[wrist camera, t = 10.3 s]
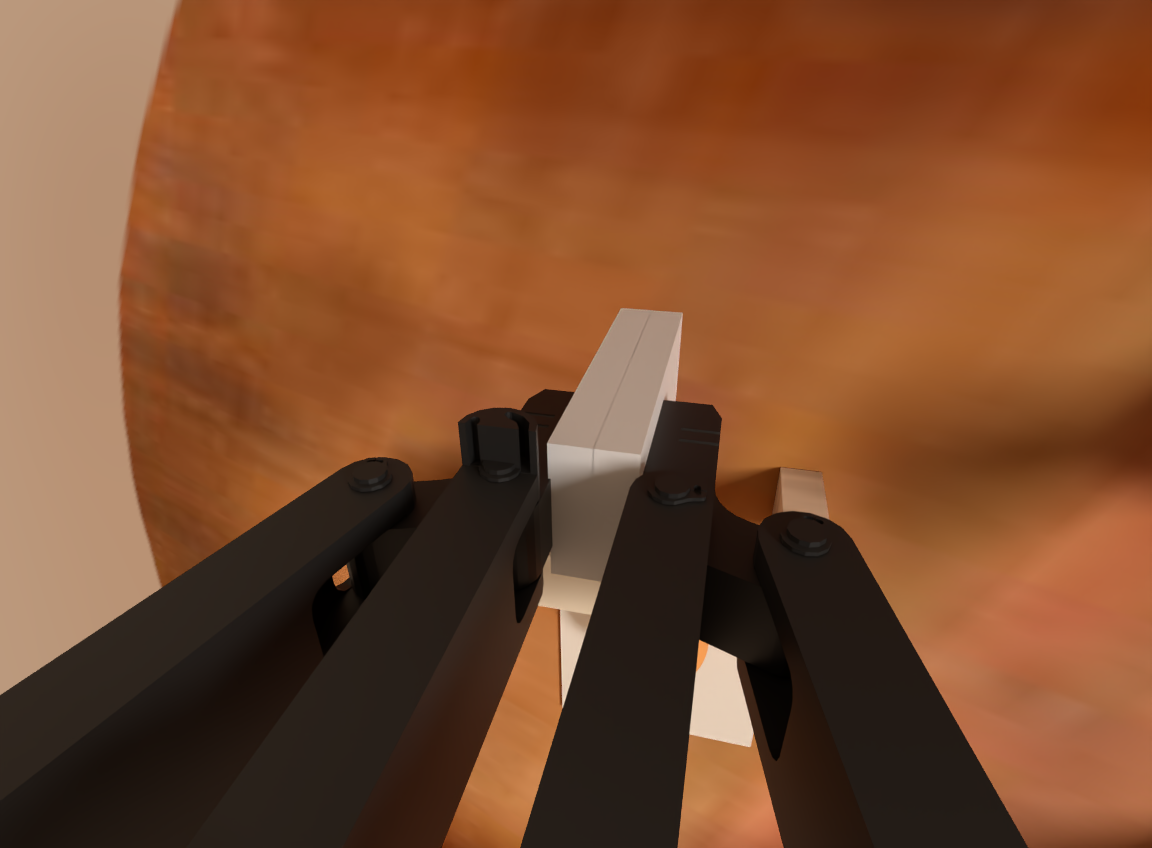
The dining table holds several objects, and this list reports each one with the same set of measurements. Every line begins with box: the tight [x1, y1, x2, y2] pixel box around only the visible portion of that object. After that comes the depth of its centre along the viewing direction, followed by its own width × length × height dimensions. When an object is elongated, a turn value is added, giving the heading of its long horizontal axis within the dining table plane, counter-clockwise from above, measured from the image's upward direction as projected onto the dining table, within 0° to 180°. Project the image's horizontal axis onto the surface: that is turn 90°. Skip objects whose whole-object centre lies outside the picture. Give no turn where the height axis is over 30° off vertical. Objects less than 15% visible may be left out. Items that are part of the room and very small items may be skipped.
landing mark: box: [560, 609, 753, 747], centre depth 42 cm, size 13×13×1 cm
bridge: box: [538, 467, 829, 615], centre depth 31 cm, size 3×14×9 cm, turn 90°
